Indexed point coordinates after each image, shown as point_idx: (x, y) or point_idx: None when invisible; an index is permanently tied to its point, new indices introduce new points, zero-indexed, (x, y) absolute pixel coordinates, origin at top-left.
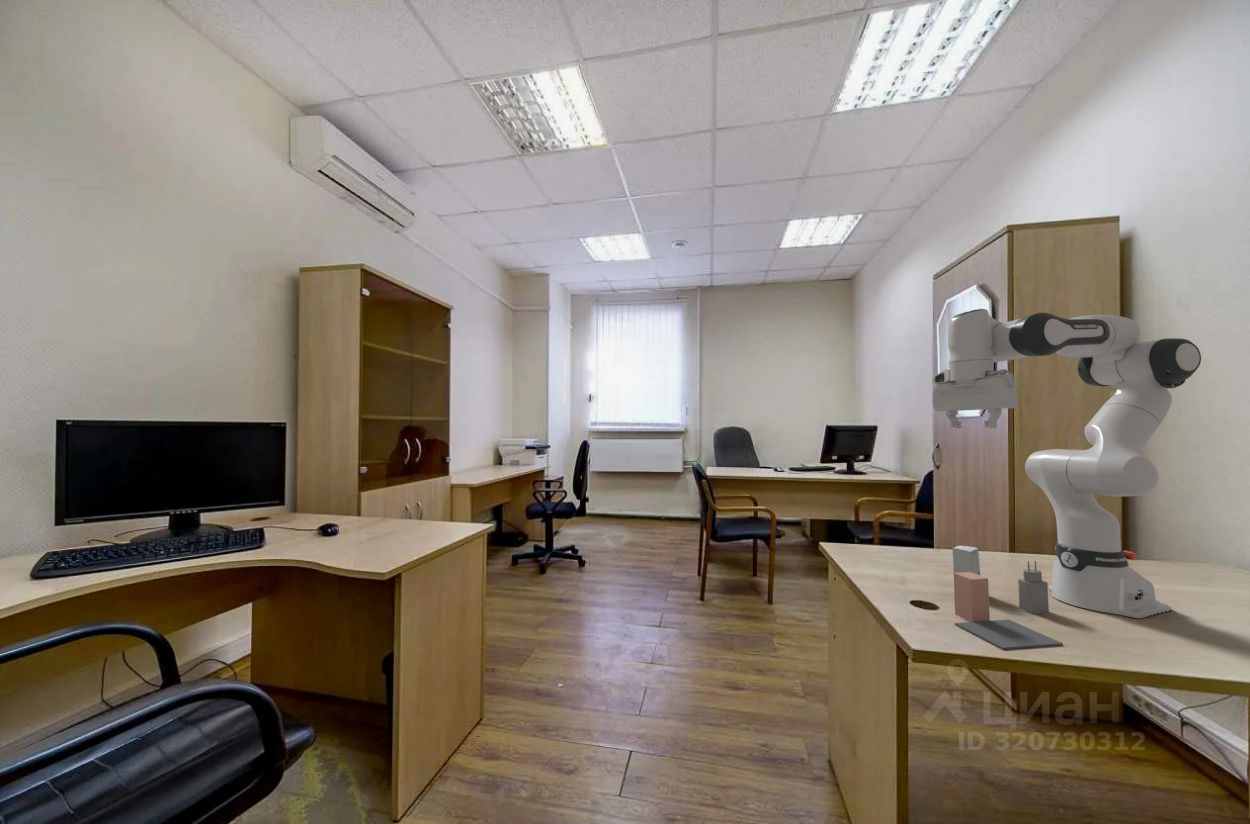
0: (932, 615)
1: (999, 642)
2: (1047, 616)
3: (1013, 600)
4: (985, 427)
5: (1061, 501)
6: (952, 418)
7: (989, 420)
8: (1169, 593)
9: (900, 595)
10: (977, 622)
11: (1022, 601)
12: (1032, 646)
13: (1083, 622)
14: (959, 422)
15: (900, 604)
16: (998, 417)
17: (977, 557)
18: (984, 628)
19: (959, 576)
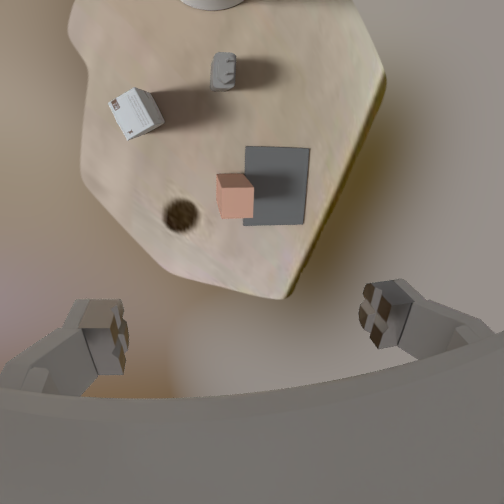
0: (214, 230)
1: (293, 217)
2: (241, 78)
3: (183, 69)
4: (359, 318)
5: None
6: (76, 384)
7: (408, 344)
8: None
9: (146, 225)
10: None
11: (218, 90)
12: (305, 187)
13: (265, 53)
14: (117, 339)
15: (177, 246)
16: (450, 313)
17: (141, 94)
18: (262, 202)
19: (232, 217)
